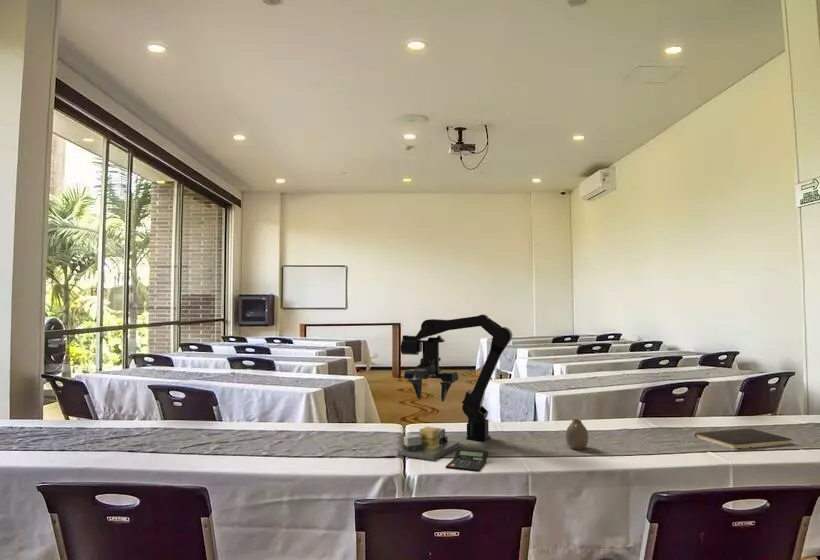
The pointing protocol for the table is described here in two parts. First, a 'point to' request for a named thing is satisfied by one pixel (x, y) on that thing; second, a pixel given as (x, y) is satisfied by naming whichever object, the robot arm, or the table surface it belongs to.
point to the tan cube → (430, 436)
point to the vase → (577, 435)
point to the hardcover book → (743, 438)
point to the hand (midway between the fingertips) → (430, 400)
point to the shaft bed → (417, 450)
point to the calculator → (468, 460)
